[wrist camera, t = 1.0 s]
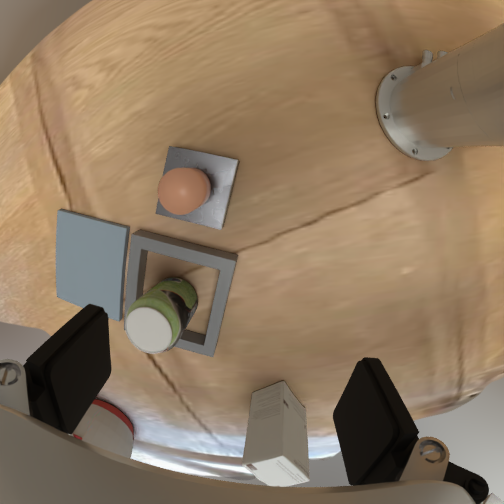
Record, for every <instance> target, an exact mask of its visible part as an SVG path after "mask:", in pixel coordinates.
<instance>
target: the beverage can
mask: <svg viewBox="0 0 504 504" xmlns="http://www.w3.org/2000/svg"><path fill="white" fill-rule="evenodd" d="M197 304H198V300H197V295H196V292H195V290H194V289H193V287H192V286H191V285H190V284H189V283H188V282H186V281H185V280H183V279H180V278H167V279H164V280H163V281H161V282H160V283H158V284H157V285H156V286H154V287H153V288H152V289H150V290H149V291H148V292H147V293H145V294H144V295H143V296H141V297H140V298H139V299H137V300H136V301H135V302H134V303H133V304H132V305H131V306H130V307H129V309H128V311H127V314H126V322H125V328H126V333H127V336H128V338H129V340H130V341H131V343H132V344H133V345H134V346H135V347H136V348H138V349H139V350H141V351H143V352H146V353H151V354H154V353H162V352H166V351H168V350H170V349H171V348H173V347H174V346H175V345H176V344H177V342H178V341H179V339H180V337H181V335H182V334H183V332H184V330H185V328H186V327H187V325H188V323H189V322H190V320H191V318H192V316H193V315H194V313H195V311H196V309H197Z"/></svg>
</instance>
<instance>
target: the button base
mask: <svg viewBox="0 0 504 504" xmlns="http://www.w3.org/2000/svg"><path fill="white" fill-rule="evenodd" d="M238 165H239V160H235V159H231V158H226V157H222V156H217V155H212V154H208V153H203V152H198V151H193V150H188V149H183V148H177V147H172V146H169V150H168V154H167V158H166V163H165V168H164V172H163V176H164V175H165V174H166V173H167V172H168V171H170V170H172V169H175V168H196V169H199V170H201V171H202V172H204V173H205V174H206V175H207V177H208V179H209V181H210V184H211V192H210V196H209V198H208V200H207V201H206V202H205V203H204V204H203V205H202V206H200V207H198V208H197V209H195V210H193V211H192V212H190V213H188V214H184V215H177V214H173V213H171V212H169V211H167V210H166V209H165V208H164V207H163V206H162V204H161V203H160V200H159V198H158V203H157V209H156V214H159V215H163V216H167V217H171V218H175V219H180V220H184V221H188V222H192V223H196V224H200V225H204V226H208V227H212V228H216V229H220V230H221V229H222V228H223V227H224V223H225V218H226V214H227V210H228V206H229V201H230V197H231V193H232V189H233V185H234V181H235V177H236V173H237V169H238Z"/></svg>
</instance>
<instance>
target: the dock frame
mask: <svg viewBox="0 0 504 504" xmlns="http://www.w3.org/2000/svg"><path fill="white" fill-rule="evenodd" d="M148 251H151V252H155V253H158V254H162V255H166V256H169V257H173V258H177V259H181V260H184V261H188V262H192V263H196V264H199V265H203V266H207V267H211V268H215V269H218V270H220V274H219V279H218V283H217V288H216V292H215V297H214V301H213V306H212V310H211V315H210V320H209V324H208V329H207V334H206V335H202V334H199V333H195V332H192V331H188V330H184V332H183V334H182V335H181V337H180V339H179V341H178V342H177V344H176V345H175V347H178V348H182V349H185V350H189V351H192V352H196V353H199V354H203V355H207V356H210V357H213V356H214V352H215V348H216V345H217V340H218V336H219V332H220V328H221V323H222V319H223V315H224V311H225V307H226V303H227V298H228V294H229V290H230V286H231V282H232V278H233V274H234V270H235V266H236V262H237V258H238V255H236V254H232V253H229V252H225V251H221V250H217V249H213V248H209V247H205V246H201V245H197V244H193V243H190V242H186V241H182V240H178V239H174V238H170V237H166V236H163V235H159V234H155V233H151V232H147V231H143V230H138V231H136V232H135V233H133V234H132V236H131V244H130V253H129V263H128V273H127V285H126V300H125V319H124V330H126V328H125V322H126V314H127V311H128V309H129V307H130V306H131V305H132V304H133V303H134V302H135V301H136V300H137V299H139V298H140V297H141V296H143V286H144V276H145V268H146V260H147V252H148Z"/></svg>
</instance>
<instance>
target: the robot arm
mask: <svg viewBox="0 0 504 504" xmlns="http://www.w3.org/2000/svg"><path fill="white" fill-rule="evenodd" d="M432 59H433V53H432V52H431V51H428V50H423V54H422V63H421V64H419V65H418V66H416V67H414V66H403V67H399V68H396V69H395V70H393V71H391V72H390V73H388V74H387V75H386V76H385V77H384V78H383V80H382V81H381V83H380V85H379V87H378V90H377V95H376V110H377V116H378V119H379V122H380V125H381V127H382V129H383V131H384V133H385V134H386V136H387V137H388V139H389V140H390V141H391V143H392V144H393V145H394V146H395V147H396V148H397V149H398V150H400V151H401V152H402V153H404V154H405V155H407V156H409V157H411V158H414V159H417V160H424V161H430V160H437V159H440V158H442V157H444V156H445V155H447V154H448V153H449V152H450V151H451V150H452V148H453V147H477V146H504V23H503V24H501V25H500V26H498V27H496V28H494V29H492V30H491V31H489V32H487V33H485V34H484V35H482V36H480V37H478V38H476V39H474V40H472V41H470V42H468V43H466V44H464V45H462V46H460V47H459V48H457V49H455V50H453V51H451V52H449V53H447V52H445V51H438V52H437V59H436V60H435V61H433V62H432ZM391 78H392V79H393V80H392V79H391ZM383 115H384V116H385V119H384V117H383ZM412 150H413V152H412ZM26 361H27V362H26V363H25V364H24V365H23V366H22V364H20V363H19V362H18V361H15V360H10V359H5V360H0V504H504V502H503V501H502V500H501V499H499V498H498V497H497V496H496V495H494V494H493V493H491V494H490V495H488V492H489V488H488V484H487V482H486V481H485V480H484V479H483V478H482V477H481V476H479V475H477V474H475V473H473V472H470V471H468V470H466V469H464V468H462V467H459V466H457V465H455V464H453V463H451V462H449V455H450V454H449V450H448V448H447V447H446V445H445V444H444V443H443V442H442V441H440V440H438V439H437V438H434V437H423V438H421V439H419V438H418V436H417V434H418V433H419V431H418V429H417V427H416V425H415V423H414V421H413V419H412V418H411V416H410V414H409V412H408V410H407V408H406V406H405V404H404V403H403V401H402V399H401V397H400V395H399V393H398V391H397V390H396V388H395V386H394V384H393V382H392V381H391V379H390V377H389V375H388V374H387V372H386V370H385V368H384V366H383V365H382V363H381V361H380V360H379V359H378V358H367V357H365V358H363V359H362V360H361V361H358V362H357V364H356V366H355V369H354V371H353V373H352V375H351V377H350V379H349V381H348V384H347V386H346V388H345V390H344V392H343V394H342V396H341V398H340V400H339V402H338V404H337V406H336V408H335V410H334V412H333V420H334V424H335V428H336V432H337V436H338V440H339V444H340V448H341V452H342V456H343V460H344V464H345V468H346V472H347V477H348V481H349V484H350V485H353V486H340V487H278V486H263V485H252V484H243V483H235V482H228V481H221V480H214V479H209V478H203V477H198V476H193V475H189V474H184V473H180V472H175V471H171V470H167V469H164V468H160V467H156V466H152V465H149V464H146V463H142V462H139V461H136V460H133V459H130V458H127V457H124V456H121V455H118V454H115V453H112V452H110V451H107V450H104V449H102V448H99V447H97V446H94V445H92V444H90V443H87V442H85V441H82V440H80V439H78V438H75V437H73V436H71V435H69V434H72V433H73V432H74V431H75V429H76V428H77V426H78V424H79V423H80V421H81V420H82V418H83V416H84V415H85V413H86V412H87V410H88V409H89V407H90V406H91V404H92V402H93V401H94V399H95V398H96V396H97V395H98V393H99V392H100V390H101V389H102V387H103V386H104V384H105V383H106V381H107V380H108V378H109V376H110V374H111V358H110V345H109V326H108V314H107V313H106V312H105V310H104V308H103V307H100V306H97V305H93V304H88V305H87V306H85V307H84V308H83V309H82V310H81V311H80V312H78V313H77V314H76V315H75V316H74V317H73V318H72V319H70V320H69V321H68V322H67V323H66V324H65V325H64V326H62V327H61V328H60V329H59V330H58V331H57V332H56V333H55V334H54V335H52V336H51V337H50V338H49V339H48V340H47V341H46V342H45V343H44V344H43V345H42V346H40V348H38V349H37V350H36V351H35V352H34V353H33V354H32V355H31V356H30V357H29V358H28V359H27V360H26Z"/></svg>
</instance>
